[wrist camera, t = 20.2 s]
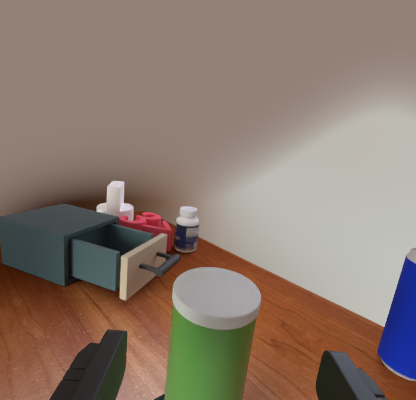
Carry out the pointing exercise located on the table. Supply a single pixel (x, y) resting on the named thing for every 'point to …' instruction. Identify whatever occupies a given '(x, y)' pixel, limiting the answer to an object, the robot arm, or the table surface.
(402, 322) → the beverage can
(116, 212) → the cylinder with rectangular tab
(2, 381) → the table surface
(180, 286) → the chip tube
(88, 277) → the drawer
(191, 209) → the pill bottle
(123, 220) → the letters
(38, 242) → the cabinet
